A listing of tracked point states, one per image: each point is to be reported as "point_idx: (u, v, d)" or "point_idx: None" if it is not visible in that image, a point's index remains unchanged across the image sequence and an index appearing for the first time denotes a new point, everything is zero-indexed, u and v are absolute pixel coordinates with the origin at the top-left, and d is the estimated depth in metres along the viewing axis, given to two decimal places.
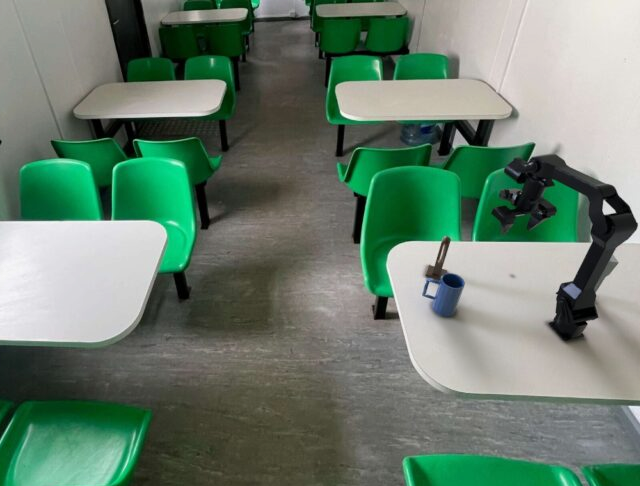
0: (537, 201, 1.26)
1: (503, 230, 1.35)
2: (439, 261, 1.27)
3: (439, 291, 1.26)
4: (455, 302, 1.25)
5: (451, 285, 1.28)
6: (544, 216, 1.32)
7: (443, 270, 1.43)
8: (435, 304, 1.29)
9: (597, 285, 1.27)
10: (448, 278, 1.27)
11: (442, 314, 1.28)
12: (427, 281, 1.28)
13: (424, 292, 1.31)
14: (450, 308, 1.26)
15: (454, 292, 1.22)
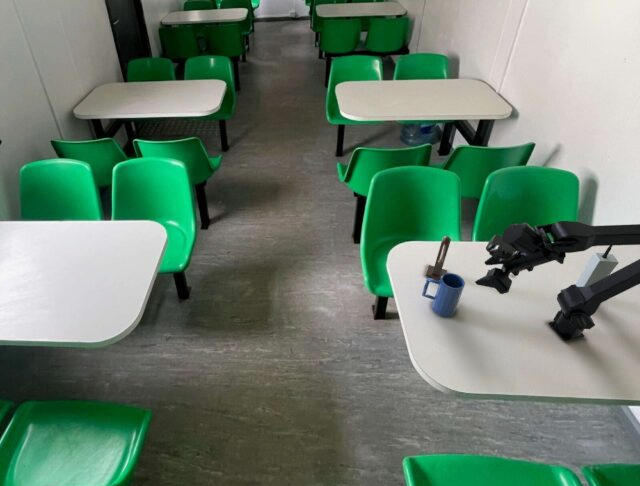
0: None
1: (482, 284, 1.19)
2: (439, 261, 1.27)
3: (439, 291, 1.26)
4: (455, 302, 1.25)
5: (451, 285, 1.28)
6: None
7: (443, 270, 1.43)
8: (435, 304, 1.29)
9: None
10: (448, 278, 1.27)
11: (442, 314, 1.28)
12: (427, 281, 1.28)
13: (424, 292, 1.31)
14: (450, 308, 1.26)
15: (454, 292, 1.22)
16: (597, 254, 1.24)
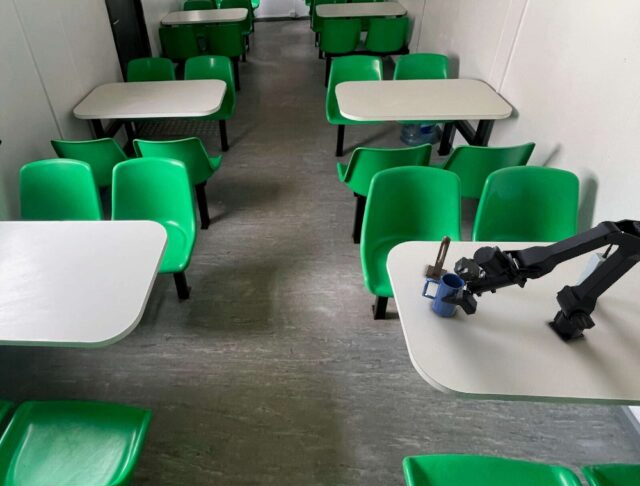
0: None
1: (448, 301, 1.23)
2: (439, 261, 1.27)
3: (439, 291, 1.26)
4: None
5: (451, 285, 1.28)
6: None
7: (443, 270, 1.43)
8: (435, 304, 1.29)
9: None
10: (448, 278, 1.27)
11: (442, 314, 1.28)
12: (427, 281, 1.28)
13: (424, 292, 1.31)
14: (450, 308, 1.26)
15: (454, 292, 1.22)
16: (597, 254, 1.24)
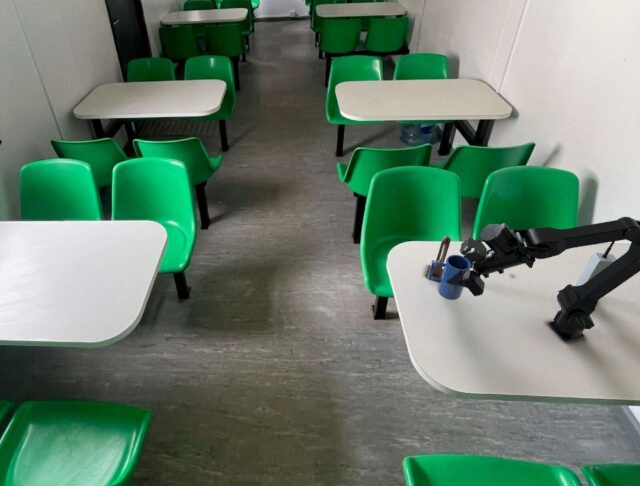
0: None
1: (454, 283, 1.21)
2: (439, 261, 1.27)
3: (445, 273, 1.23)
4: None
5: (457, 267, 1.26)
6: None
7: None
8: (441, 287, 1.26)
9: None
10: (454, 260, 1.25)
11: (448, 297, 1.25)
12: (432, 263, 1.25)
13: (429, 275, 1.28)
14: (456, 291, 1.23)
15: (460, 274, 1.19)
16: (597, 254, 1.24)
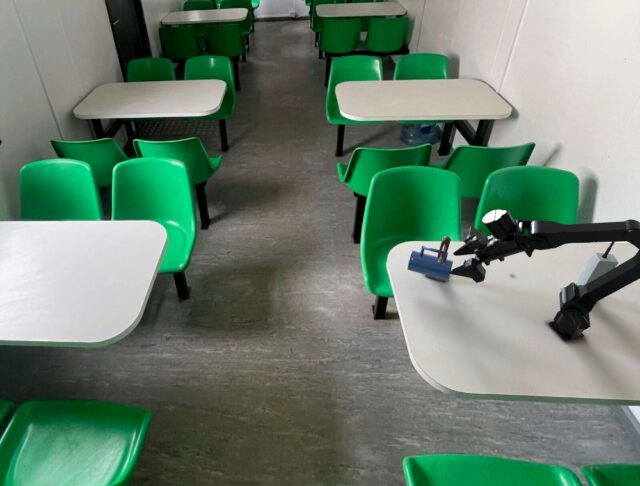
0: None
1: (456, 273, 1.24)
2: (439, 261, 1.27)
3: (437, 265, 1.30)
4: (427, 275, 1.34)
5: None
6: None
7: None
8: (418, 260, 1.32)
9: None
10: None
11: (410, 267, 1.34)
12: (444, 253, 1.28)
13: (427, 249, 1.30)
14: (420, 272, 1.34)
15: (443, 278, 1.30)
16: (597, 254, 1.24)
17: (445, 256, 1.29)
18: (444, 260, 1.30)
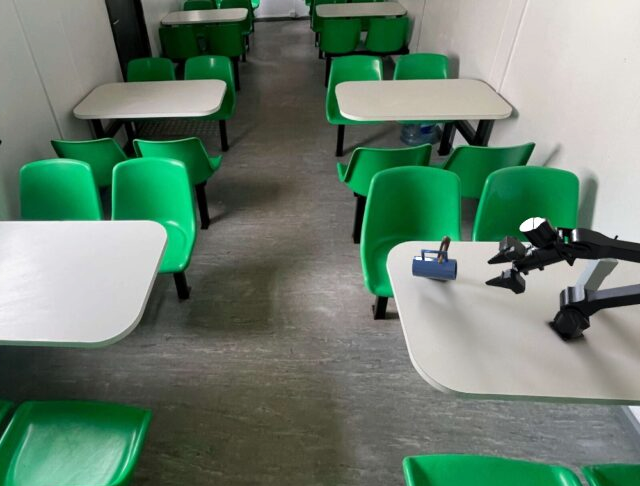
0: None
1: (493, 284, 1.21)
2: (439, 261, 1.27)
3: (440, 266, 1.30)
4: None
5: None
6: None
7: None
8: (421, 264, 1.33)
9: (597, 285, 1.27)
10: None
11: (414, 272, 1.34)
12: (443, 253, 1.28)
13: (427, 252, 1.31)
14: (425, 276, 1.33)
15: (449, 278, 1.29)
16: None
17: (445, 255, 1.29)
18: (446, 260, 1.29)
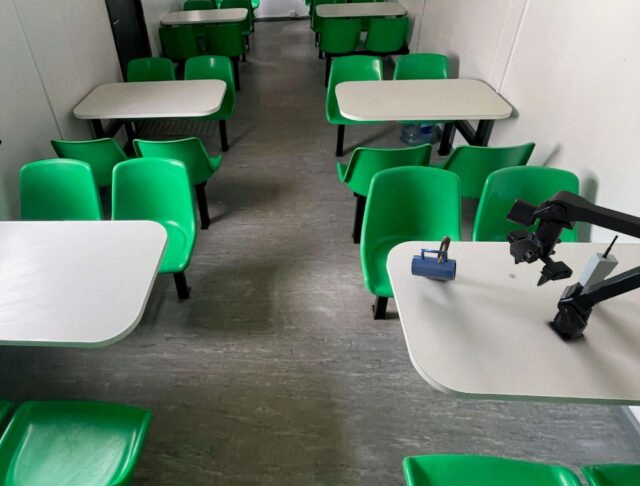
0: None
1: (545, 282, 1.18)
2: (439, 261, 1.27)
3: (440, 266, 1.30)
4: (433, 277, 1.33)
5: None
6: None
7: None
8: (420, 264, 1.33)
9: None
10: None
11: (413, 271, 1.34)
12: (443, 253, 1.28)
13: (427, 251, 1.31)
14: (424, 276, 1.33)
15: (448, 278, 1.29)
16: (597, 254, 1.24)
17: (445, 256, 1.29)
18: (445, 260, 1.29)
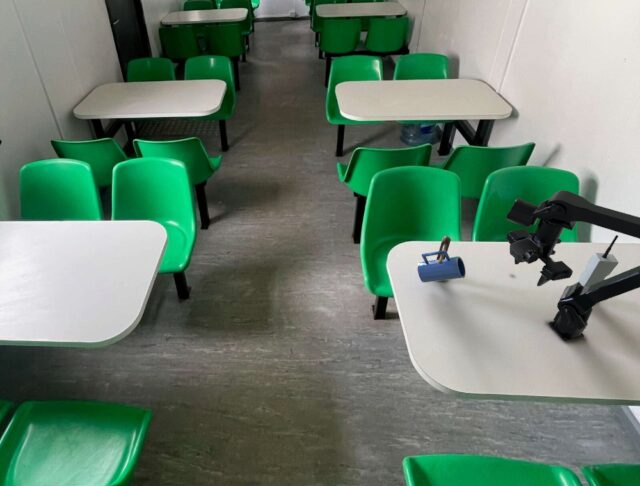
0: None
1: (545, 282, 1.18)
2: (439, 261, 1.27)
3: (444, 266, 1.29)
4: None
5: None
6: None
7: None
8: (426, 269, 1.33)
9: None
10: None
11: (422, 278, 1.34)
12: (443, 252, 1.28)
13: (427, 255, 1.32)
14: (434, 280, 1.33)
15: (456, 276, 1.28)
16: (597, 254, 1.24)
17: (445, 255, 1.28)
18: (447, 259, 1.29)
